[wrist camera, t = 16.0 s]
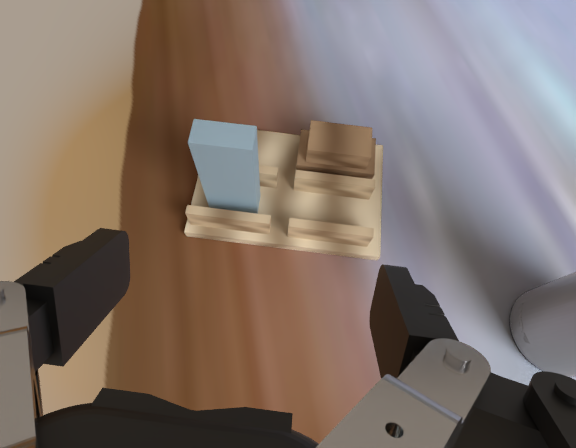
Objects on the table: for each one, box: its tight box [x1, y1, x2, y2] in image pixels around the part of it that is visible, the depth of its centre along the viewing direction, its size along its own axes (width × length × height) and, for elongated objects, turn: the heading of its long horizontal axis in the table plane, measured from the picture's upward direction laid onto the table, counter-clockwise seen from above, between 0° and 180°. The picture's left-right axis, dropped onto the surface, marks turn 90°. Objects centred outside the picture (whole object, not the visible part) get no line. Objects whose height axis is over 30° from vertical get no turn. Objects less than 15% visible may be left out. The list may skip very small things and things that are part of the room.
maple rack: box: [184, 130, 383, 260], centre depth 46 cm, size 22×15×4 cm
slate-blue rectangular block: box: [188, 119, 260, 214], centre depth 39 cm, size 6×2×13 cm, turn 84°
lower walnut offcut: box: [296, 129, 376, 179], centre depth 47 cm, size 9×5×2 cm, turn 83°
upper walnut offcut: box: [306, 120, 372, 169], centre depth 45 cm, size 7×4×2 cm, turn 83°
